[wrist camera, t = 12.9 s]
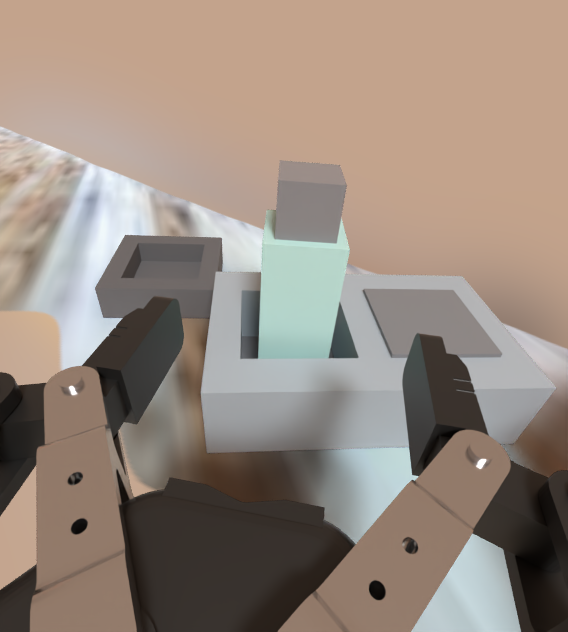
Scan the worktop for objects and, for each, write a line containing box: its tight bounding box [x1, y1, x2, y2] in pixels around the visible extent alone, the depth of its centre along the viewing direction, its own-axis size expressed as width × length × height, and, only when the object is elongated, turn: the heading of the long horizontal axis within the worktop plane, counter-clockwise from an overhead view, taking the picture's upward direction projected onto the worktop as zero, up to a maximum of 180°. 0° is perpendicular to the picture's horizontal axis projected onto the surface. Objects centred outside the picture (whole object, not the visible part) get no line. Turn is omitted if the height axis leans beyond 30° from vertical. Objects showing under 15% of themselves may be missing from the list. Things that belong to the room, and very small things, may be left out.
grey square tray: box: [95, 235, 223, 318], centre depth 35 cm, size 10×10×3 cm
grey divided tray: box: [201, 272, 556, 453], centre depth 27 cm, size 20×12×6 cm, turn 95°
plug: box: [258, 161, 350, 359], centre depth 23 cm, size 4×4×14 cm
